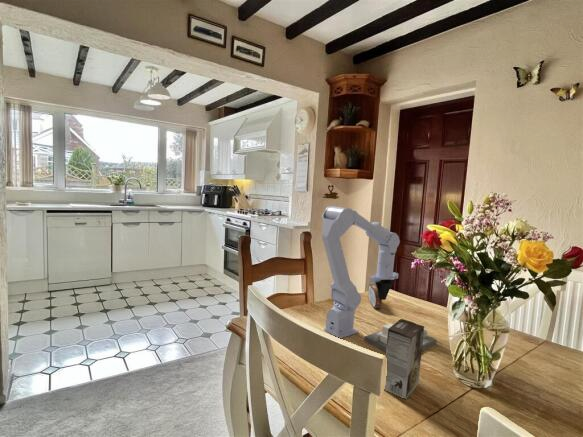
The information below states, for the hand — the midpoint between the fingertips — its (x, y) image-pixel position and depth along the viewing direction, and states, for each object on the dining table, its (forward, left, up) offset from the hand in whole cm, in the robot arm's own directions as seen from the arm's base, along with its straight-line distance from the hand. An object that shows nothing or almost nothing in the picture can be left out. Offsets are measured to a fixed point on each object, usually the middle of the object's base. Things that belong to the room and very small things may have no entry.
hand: (382, 298), depth 124 cm
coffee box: (-29, -29, -10) cm, 42 cm away
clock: (+14, +14, -10) cm, 22 cm away
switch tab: (-13, -14, -8) cm, 20 cm away
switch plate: (-7, -14, -9) cm, 18 cm away
